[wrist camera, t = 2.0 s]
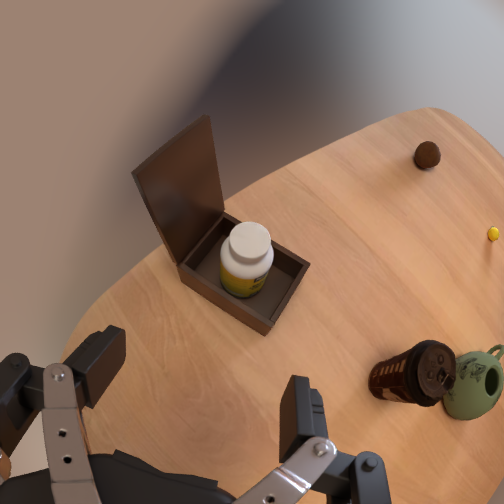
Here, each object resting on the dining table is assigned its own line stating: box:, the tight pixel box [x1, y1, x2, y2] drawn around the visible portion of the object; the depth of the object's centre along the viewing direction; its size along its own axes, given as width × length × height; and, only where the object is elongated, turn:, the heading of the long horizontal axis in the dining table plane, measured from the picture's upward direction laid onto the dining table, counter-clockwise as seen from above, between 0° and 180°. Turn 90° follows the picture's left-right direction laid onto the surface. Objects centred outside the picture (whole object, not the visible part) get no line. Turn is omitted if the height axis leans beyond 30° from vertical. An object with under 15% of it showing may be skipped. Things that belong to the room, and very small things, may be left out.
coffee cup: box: [369, 340, 456, 407], centre depth 32 cm, size 9×8×13 cm
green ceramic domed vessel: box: [443, 344, 504, 420], centre depth 34 cm, size 16×13×9 cm
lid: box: [131, 115, 225, 265], centre depth 32 cm, size 16×11×1 cm
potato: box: [415, 141, 441, 168], centre depth 60 cm, size 7×10×7 cm
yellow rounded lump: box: [488, 226, 499, 241], centre depth 54 cm, size 3×6×4 cm, turn 136°
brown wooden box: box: [176, 211, 310, 336], centre depth 40 cm, size 15×11×6 cm
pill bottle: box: [220, 222, 274, 298], centre depth 37 cm, size 6×6×12 cm
